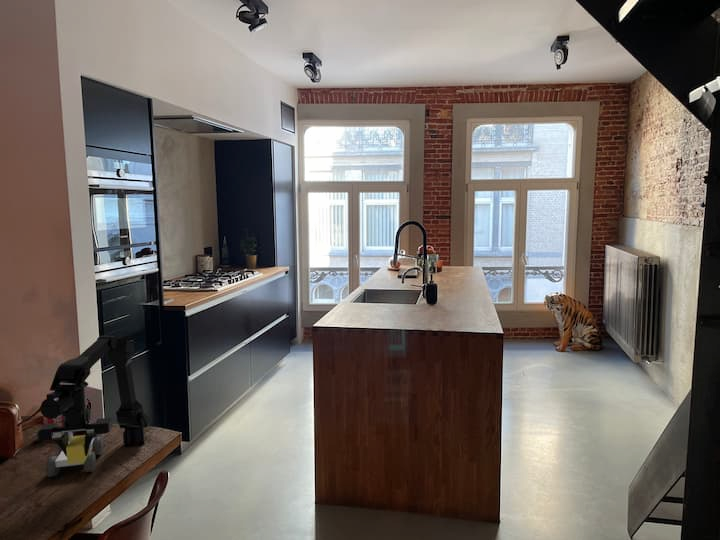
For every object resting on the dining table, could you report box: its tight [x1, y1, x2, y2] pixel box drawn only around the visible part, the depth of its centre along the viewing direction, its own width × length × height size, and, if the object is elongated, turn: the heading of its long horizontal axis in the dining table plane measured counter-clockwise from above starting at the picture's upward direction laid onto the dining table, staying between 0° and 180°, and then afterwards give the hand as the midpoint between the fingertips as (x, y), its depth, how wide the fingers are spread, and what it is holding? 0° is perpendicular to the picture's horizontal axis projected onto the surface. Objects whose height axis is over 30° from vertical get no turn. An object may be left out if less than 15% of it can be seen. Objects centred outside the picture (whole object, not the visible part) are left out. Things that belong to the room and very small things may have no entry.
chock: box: [66, 434, 92, 464], centre depth 153 cm, size 4×8×5 cm, turn 15°
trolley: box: [46, 423, 104, 478], centre depth 167 cm, size 18×12×10 cm
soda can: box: [42, 414, 64, 427], centre depth 191 cm, size 7×7×12 cm
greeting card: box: [84, 385, 104, 423], centre depth 197 cm, size 11×7×15 cm, turn 61°
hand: (77, 456), depth 151 cm, fingers closed on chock, 4 cm apart
